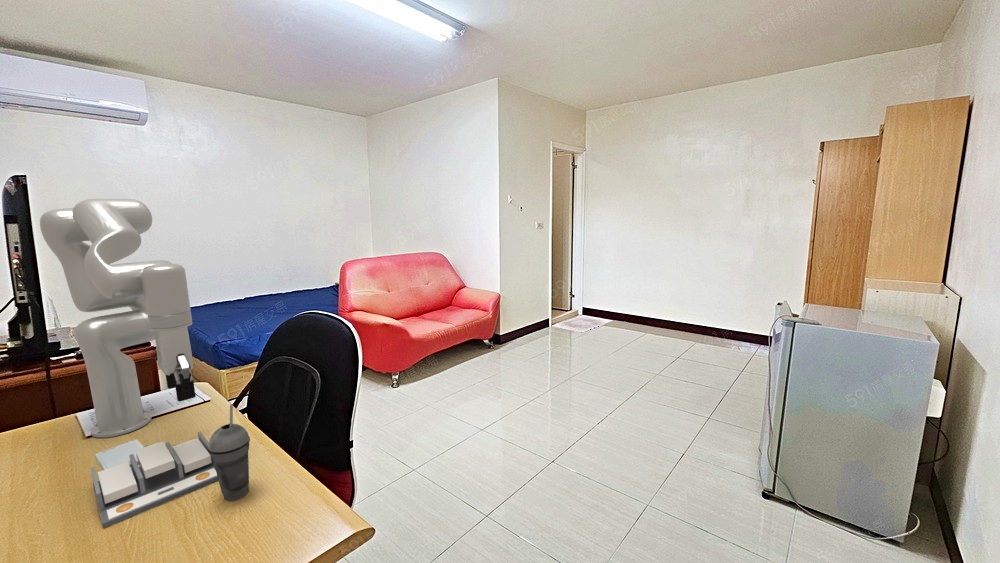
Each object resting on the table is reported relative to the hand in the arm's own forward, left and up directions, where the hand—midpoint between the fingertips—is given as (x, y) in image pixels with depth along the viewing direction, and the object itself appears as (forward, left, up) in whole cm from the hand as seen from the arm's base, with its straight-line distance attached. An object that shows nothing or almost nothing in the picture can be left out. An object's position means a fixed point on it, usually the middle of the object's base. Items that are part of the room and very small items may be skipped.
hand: (181, 392), depth 95 cm
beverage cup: (+19, +4, -18) cm, 27 cm away
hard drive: (-16, -10, -19) cm, 27 cm away
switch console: (+2, -6, -18) cm, 19 cm away
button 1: (0, -13, -17) cm, 21 cm away
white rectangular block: (0, -6, -15) cm, 16 cm away
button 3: (0, 0, -17) cm, 17 cm away
